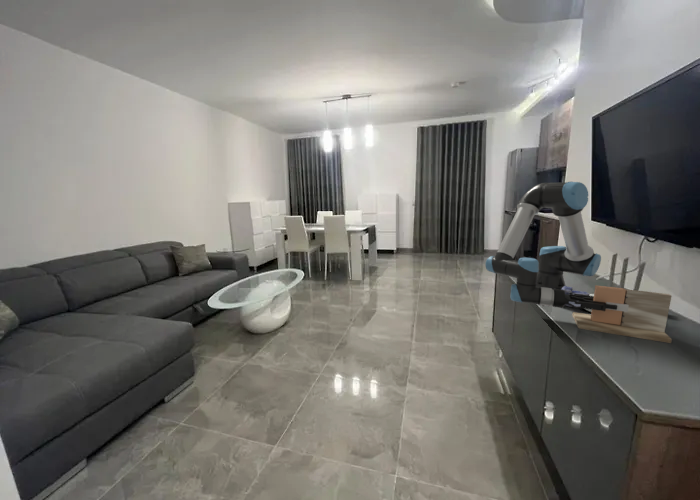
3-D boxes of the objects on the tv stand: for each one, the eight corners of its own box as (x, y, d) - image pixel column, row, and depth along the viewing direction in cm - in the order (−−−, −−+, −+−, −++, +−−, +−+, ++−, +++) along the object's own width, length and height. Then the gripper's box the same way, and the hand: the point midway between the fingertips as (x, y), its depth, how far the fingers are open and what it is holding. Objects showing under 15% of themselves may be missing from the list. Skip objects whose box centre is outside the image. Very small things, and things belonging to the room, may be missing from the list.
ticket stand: (572, 315, 128) (576, 280, 125) (654, 327, 115) (661, 289, 113) (578, 328, 116) (583, 290, 113) (671, 343, 103) (679, 300, 100)
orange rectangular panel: (590, 318, 120) (595, 285, 117) (618, 322, 116) (623, 288, 113) (591, 320, 118) (596, 287, 115) (620, 324, 114) (625, 290, 111)
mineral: (561, 288, 135) (554, 280, 144) (555, 307, 138) (549, 299, 147) (599, 295, 130) (590, 287, 139) (593, 314, 133) (584, 305, 142)
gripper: (549, 300, 131) (618, 308, 120) (553, 312, 118) (631, 323, 107) (551, 283, 130) (621, 291, 119) (555, 294, 116) (635, 304, 105)
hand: (626, 306), depth 113 cm, fingers closed on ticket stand, 3 cm apart
